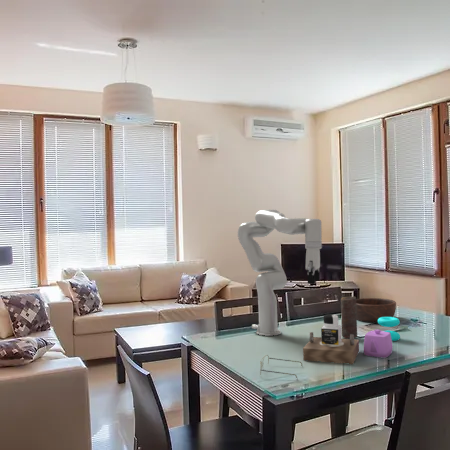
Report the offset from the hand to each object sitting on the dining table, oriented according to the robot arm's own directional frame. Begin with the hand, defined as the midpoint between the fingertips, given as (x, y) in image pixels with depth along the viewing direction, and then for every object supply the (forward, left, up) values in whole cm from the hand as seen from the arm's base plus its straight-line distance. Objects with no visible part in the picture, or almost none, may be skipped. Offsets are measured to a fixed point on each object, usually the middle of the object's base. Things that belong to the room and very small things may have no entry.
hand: (313, 282), depth 218 cm
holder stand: (+10, -17, -29) cm, 35 cm away
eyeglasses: (-5, -44, -30) cm, 53 cm away
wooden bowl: (+20, +64, -29) cm, 73 cm away
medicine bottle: (+10, -17, -24) cm, 31 cm away
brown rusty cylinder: (+13, +15, -29) cm, 35 cm away
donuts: (+31, +18, -29) cm, 47 cm away
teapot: (+28, -9, -29) cm, 42 cm away
